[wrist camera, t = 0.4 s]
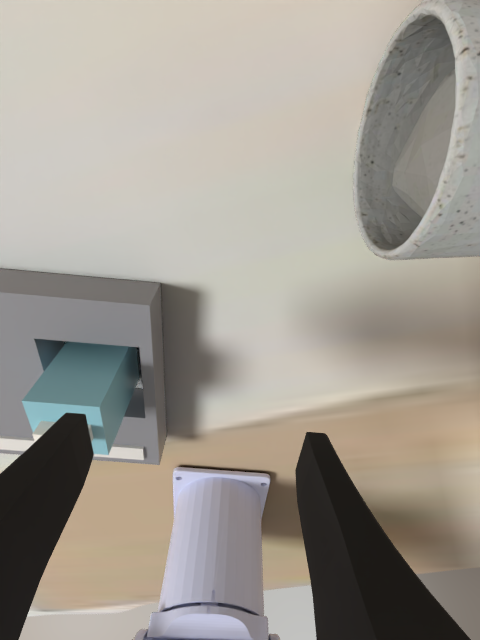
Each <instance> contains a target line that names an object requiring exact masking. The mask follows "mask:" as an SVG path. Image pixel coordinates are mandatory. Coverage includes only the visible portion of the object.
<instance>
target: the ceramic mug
mask: <svg viewBox="0 0 480 640" xmlns="http://www.w3.org/2000/svg"><path fill="white" fill-rule="evenodd" d="M353 185H354V191H353V194H354V206H355V217H356V220H357V223H358V226H359V230H360V233H361V235H362V237H363V239H364V241H365V243H366V245H367V247H368V248H369V250H371V251H372V252H373V253H374V254H375V255H377V256H379V257H381V258H384V259H388V260H407V259H426V258H449V257H472V256H480V0H422V2H421V4H420V5H419V6H417V7H416V8H415V9H414V10H413V11H412V12H411V13H410V14H409V15H408V16H407V18H406V19H405V20H404V21H403V22H402V23H401V25H400V26H399V27H398V29H397V30H396V31H395V33H394V35H393V37H392V38H391V40H390V42H389V44H388V46H387V48H386V50H385V53H384V55H383V57H382V59H381V61H380V63H379V65H378V68H377V71H376V73H375V75H374V78H373V80H372V83H371V86H370V89H369V91H368V94H367V98H366V103H365V107H364V112H363V117H362V121H361V124H360V127H359V132H358V138H357V146H356V153H355V160H354V173H353Z"/></svg>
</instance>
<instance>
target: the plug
mask: <svg viewBox="0 0 480 640" xmlns="http://www.w3.org/2000/svg"><path fill="white" fill-rule="evenodd" d="M138 380H139V367H138V357H137V347H129V346H117V345H105V344H93V343H81V342H69V341H67V342H66V343H65V345H64V346H63V347H62V349H61V350H60V351H59V353H58V354H57V355H56V357H55V358H54V359H53V360H52V362H51V363H50V364H49V366H48V367H47V368H46V370H45V371H44V372H43V374H42V375H41V376H40V378H39V379H38V380H37V381H36V383H35V384H34V385H33V387H32V388H31V389H30V391H29V392H28V393H27V395H26V396H25V397H24V399H23V400H22V403H23V406H24V409H25V412H26V414H27V417H28V420H29V423H30V425H31V428H32V431H33V434H32V435H33V438H34V441H35V442H36V441H37V440H38V439H39V438H40V437H41V436H42V435H43V434H44V433H45V432H46V431H47V430H48V429H49V428H50V427H51V426H52V425H53V424H54V423H55V422H56V421H57V420H58V419H60V418H61V417H62V416H63V415H64V414H65V413H66V412H67V413H79V414H86V419H87V424H88V429H89V433H90V438H91V443H92V448H93V452H94V454H102V455H109V453H110V450H111V448H112V445H113V443H114V440H115V438H116V435H117V433H118V430H119V428H120V425H121V423H122V420H123V418H124V415H125V413H126V410H127V408H128V405H129V402H130V400H131V397H132V395H133V392H134V390H135V387H136V385H137V382H138Z"/></svg>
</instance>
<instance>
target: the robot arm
mask: <svg viewBox="0 0 480 640" xmlns="http://www.w3.org/2000/svg"><path fill="white" fill-rule="evenodd" d="M93 456H94V452H93V448H92V443H91V438H90V433H89V429H88V424H87V419H86V414H79V413H67V412H66V413H65V414H64V415H63V416H62V417H61V418H60V419H58V420H57V421H56V422H55V423H54V424H53V425H52V426H51V427H50V428H49V429H48V430H47V431H46V432H45V433H44V434H43V435H42V436H41V437H40V438H39V439H38V440H37V441H36V442H34V443H33V444H32V445H31V446H30V447H29V448H28V449H27V450H26V451H25V452H24V453H23V454H22V455H21V456H19V457H18V458H17V459H16V460H15V461H14V462H13V463H12V464H11V465H10V466H8V467H7V468H6V469H5V470H4V471H3V472H2V473H1V474H0V640H18V639H19V637H20V634H21V631H22V628H23V625H24V622H25V620H26V617H27V614H28V612H29V609H30V606H31V604H32V601H33V598H34V595H35V593H36V590H37V587H38V585H39V582H40V579H41V577H42V575H43V572H44V570H45V568H46V565H47V563H48V561H49V559H50V557H51V555H52V552H53V550H54V548H55V546H56V544H57V542H58V540H59V538H60V535H61V533H62V531H63V529H64V527H65V525H66V523H67V521H68V518H69V516H70V514H71V512H72V510H73V508H74V506H75V503H76V501H77V499H78V497H79V495H80V493H81V490H82V488H83V486H84V483H85V480H86V477H87V474H88V471H89V468H90V465H91V462H92V459H93ZM269 485H270V476H269V475H268V474H265V473H253V472H239V471H226V470H212V469H199V468H185V467H177V468H175V469H174V471H173V497H174V524H173V529H172V535H171V540H170V546H169V551H168V557H167V563H166V568H165V574H164V579H163V585H162V590H161V596H160V602H159V607H158V612H152V613H151V618H150V623H149V628H148V629H141V630H139V631H138V632H137V634H136V635H135V637H134V638H133V639H132V640H280V638H279V636H278V635H277V634H269V636H268V618H267V617H266V616H264V601H263V567H262V533H261V519H262V515H263V510H264V506H265V502H266V498H267V493H268V489H269ZM296 488H297V502H298V509H299V515H300V521H301V527H302V533H303V538H304V544H305V550H306V556H307V562H308V568H309V573H310V579H311V587H312V593H313V603H314V614H315V625H316V637H317V640H471V639H470V638H469V637H468V636H467V635H466V634H465V632H464V631H463V630H462V629H461V628H460V627H459V626H458V624H457V623H456V622H455V621H454V620H453V619H452V617H451V616H450V615H449V614H448V613H447V612H446V611H445V610H444V608H443V607H442V606H441V605H440V603H439V602H438V601H437V600H436V599H435V598H434V596H433V595H432V594H431V593H430V592H429V590H428V589H427V588H426V587H425V585H424V584H423V583H422V582H421V580H420V579H419V578H418V577H417V575H416V574H415V573H414V572H413V570H412V569H411V568H410V566H409V565H408V564H407V562H406V561H405V560H404V558H403V557H402V556H401V554H400V553H399V552H398V550H397V549H396V548H395V546H394V545H393V544H392V542H391V541H390V539H389V538H388V536H387V535H386V534H385V532H384V531H383V529H382V528H381V526H380V525H379V523H378V522H377V520H376V519H375V517H374V516H373V514H372V513H371V511H370V510H369V508H368V507H367V505H366V503H365V502H364V500H363V498H362V497H361V495H360V494H359V492H358V490H357V489H356V487H355V485H354V484H353V482H352V480H351V479H350V477H349V475H348V473H347V472H346V470H345V468H344V466H343V465H342V463H341V461H340V459H339V457H338V455H337V454H336V452H335V450H334V448H333V446H332V444H331V442H330V440H329V438H328V436H327V435H326V434H325V433H313V432H307V433H306V436H305V439H304V443H303V446H302V450H301V453H300V457H299V460H298V463H297V467H296Z"/></svg>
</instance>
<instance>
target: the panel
mask: <svg viewBox="0 0 480 640" xmlns="http://www.w3.org/2000/svg"><path fill="white" fill-rule="evenodd" d="M63 341H69V342H81V343H93V344H105V345H117V346H129V347H139V349H140V361H141V372H142V384H143V389H135V390H134V392H133V395H132V397H131V400H130V402H129V405H128V408H127V410H126V413H125V415H124V418H123V420H122V423H121V425H120V428H119V430H118V433H117V435H116V438H115V440H114V443H113V445H112V448H111V450H110V453H109V455H102V454H94V456H93V459H92V460H101V461H114V462H128V463H141V464H155V465H160V461H161V457H162V453H163V449H164V445H165V441H166V437H167V429H166V404H165V379H164V354H163V329H162V305H161V283H155V282H144V281H132V280H121V279H110V278H99V277H88V276H77V275H66V274H54V273H43V272H32V271H21V270H10V269H0V453H6V454H20V455H22V454H23V453H24V452H25V451H26V450H27V449H28V448H29V447H30V446H31V445H32V444H33V443H34V442H35V441H34V438H33V435H32V434H33V431H32V428H31V425H30V423H29V420H28V417H27V414H26V412H25V409H24V406H23V403H22V400H23V399H24V397H25V396H26V395H27V393H28V392H29V391H30V389H31V388H32V387H33V385H34V384H35V383H36V381H37V380H38V379H39V378H40V376H41V375H42V374H43V372H44V371H45V370H46V368H47V367H48V366H49V364H50V363H51V362H52V360H53V359H54V358H55V357H56V355H57V354H58V353H59V351H60V350H61V349H62V347H63V346H64V344H63Z"/></svg>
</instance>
